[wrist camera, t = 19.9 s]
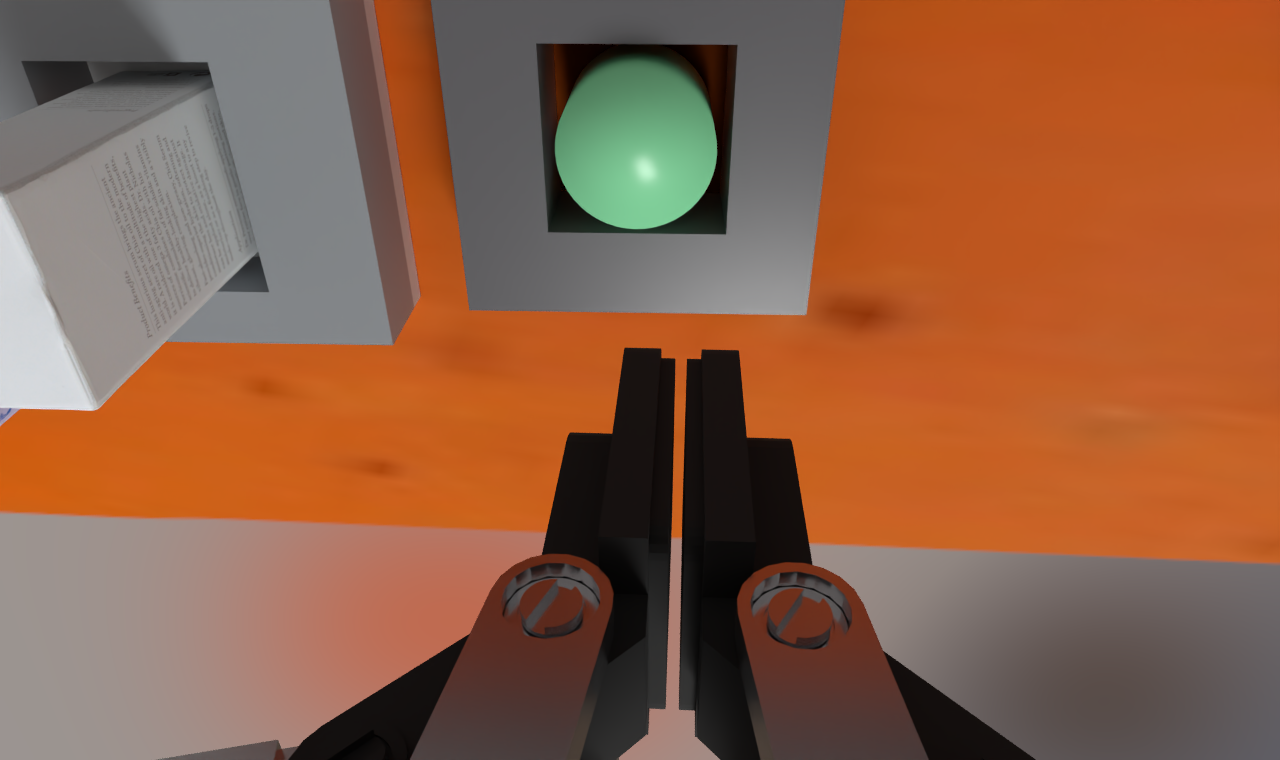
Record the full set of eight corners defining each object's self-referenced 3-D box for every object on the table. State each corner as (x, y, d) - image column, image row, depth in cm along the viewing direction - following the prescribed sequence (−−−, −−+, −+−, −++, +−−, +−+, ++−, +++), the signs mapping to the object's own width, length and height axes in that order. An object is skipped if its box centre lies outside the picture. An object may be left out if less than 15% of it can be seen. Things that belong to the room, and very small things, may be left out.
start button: (714, 42, 27) (721, 68, 24) (707, 187, 30) (712, 230, 27) (564, 41, 27) (550, 67, 24) (571, 186, 30) (559, 228, 27)
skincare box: (118, 68, 28) (-188, 187, 18) (240, 67, 28) (1, 186, 18) (174, 234, 31) (-58, 413, 21) (285, 234, 31) (102, 414, 21)
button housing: (829, -80, 26) (853, -71, 23) (791, 267, 33) (806, 315, 29) (453, -81, 26) (421, -72, 23) (489, 263, 33) (469, 309, 29)
